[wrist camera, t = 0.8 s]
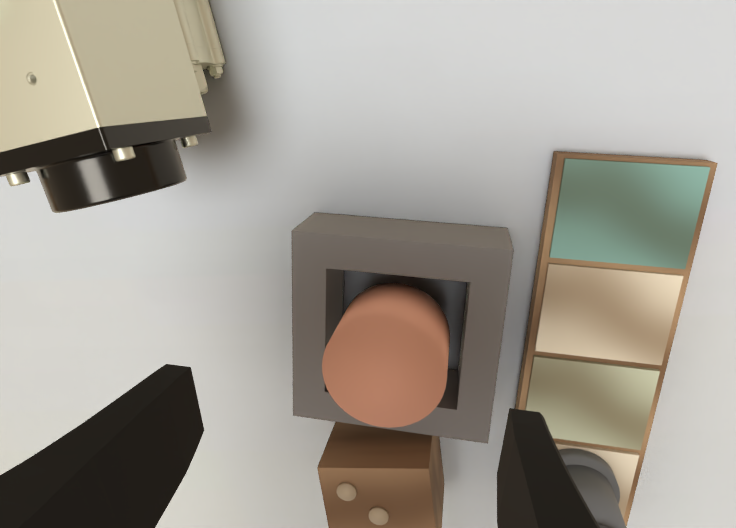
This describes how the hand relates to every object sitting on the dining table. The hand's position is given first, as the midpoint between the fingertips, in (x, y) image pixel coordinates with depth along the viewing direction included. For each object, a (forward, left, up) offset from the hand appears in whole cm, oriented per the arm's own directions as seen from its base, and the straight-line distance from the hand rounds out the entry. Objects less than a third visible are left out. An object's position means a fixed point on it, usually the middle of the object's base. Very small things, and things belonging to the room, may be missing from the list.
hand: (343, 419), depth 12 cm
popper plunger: (-3, 0, -11) cm, 12 cm away
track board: (-4, -9, -14) cm, 17 cm away
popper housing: (-3, 0, -14) cm, 14 cm away
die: (-11, 0, -14) cm, 18 cm away
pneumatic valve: (+9, +11, -14) cm, 20 cm away
